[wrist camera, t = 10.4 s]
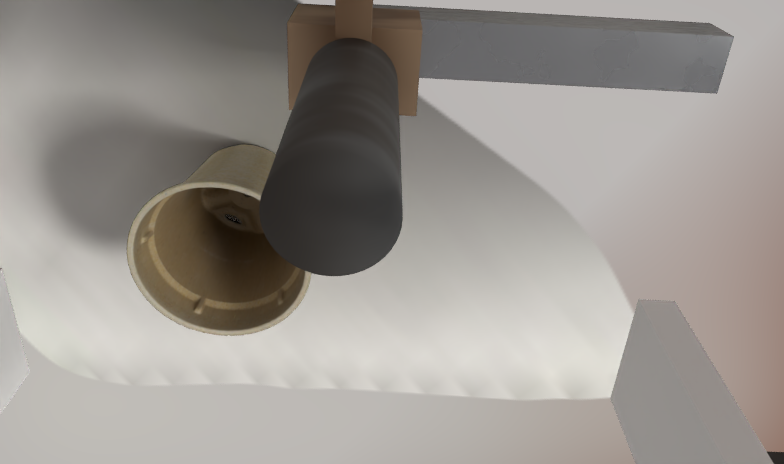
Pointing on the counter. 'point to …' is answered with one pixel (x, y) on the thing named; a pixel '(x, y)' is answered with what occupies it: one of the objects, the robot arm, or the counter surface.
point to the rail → (571, 50)
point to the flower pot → (214, 250)
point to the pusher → (342, 136)
